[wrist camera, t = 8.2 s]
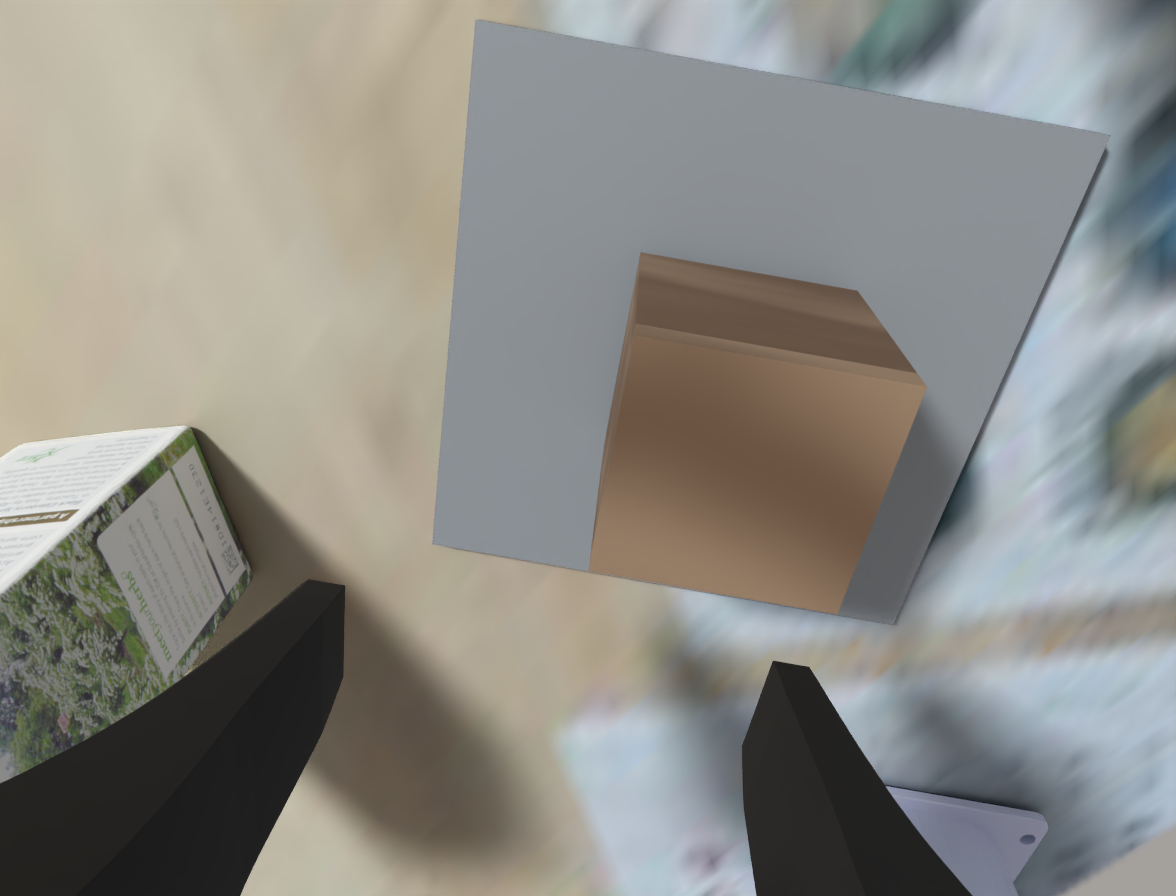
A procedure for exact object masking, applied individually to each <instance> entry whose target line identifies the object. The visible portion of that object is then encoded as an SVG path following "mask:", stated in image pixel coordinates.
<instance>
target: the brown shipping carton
mask: <svg viewBox="0 0 1176 896" xmlns="http://www.w3.org/2000/svg"><path fill="white" fill-rule="evenodd" d="M926 388H927V386H926V385H925V383H924V382H923V380H922V379H921V378H920V376H919V375H918V374H917V372H916V371H915V369H914V368H913V367H912V365H911V364H910V362H909V361H908V360H907V358H906V357H905V356H904V354H903V353H902V351H901V350H900V349H899V347H898V346H897V344H896V343H895V342H894V340H893V339H892V338H891V336H890V335H889V333H888V332H887V331H886V329H885V328H884V327H883V325H882V324H881V322H880V321H879V320H878V318H877V317H876V315H875V314H874V313H873V311H872V310H871V309H870V307H869V306H868V304H867V303H866V302H865V300H864V299H863V297H862V296H861V295H860V293H859V292H858V291H857V290H851V289H846V288H840V287H834V286H829V285H823V284H817V283H812V282H806V281H801V280H795V279H789V278H784V277H778V276H772V275H767V274H761V273H755V272H750V271H744V270H738V269H733V268H727V267H722V266H716V265H710V264H705V263H699V262H693V261H688V260H682V259H676V258H671V257H665V256H660V255H654V254H648V253H643V252H641V253H640V258H639V263H638V268H637V274H636V279H635V284H634V289H633V295H632V300H631V305H630V310H629V316H628V321H627V326H626V331H625V337H624V342H623V347H622V352H621V358H620V363H619V368H618V373H617V379H616V384H615V389H614V394H613V400H612V405H611V410H610V415H609V421H608V426H607V431H606V436H605V442H604V449H603V457H602V465H601V473H600V481H599V489H598V497H597V506H596V514H595V522H594V530H593V538H592V546H591V554H590V562H589V571H591V572H596V573H602V574H608V575H614V576H619V577H625V578H631V579H637V580H642V581H648V582H654V583H660V584H665V585H671V586H677V587H683V588H688V589H694V590H700V591H706V592H711V593H717V594H723V595H729V596H734V597H740V598H746V599H752V600H757V601H763V602H769V603H775V604H780V605H786V606H792V607H798V608H803V609H809V610H815V611H821V612H826V613H832V614H838V611H839V609H840V606H841V604H842V601H843V599H844V596H845V594H846V591H847V588H848V586H849V583H850V581H851V578H852V576H853V573H854V571H855V568H856V566H857V563H858V561H859V558H860V556H861V553H862V550H863V548H864V545H865V543H866V540H867V538H868V535H869V533H870V530H871V528H872V525H873V523H874V520H875V518H876V515H877V512H878V510H879V507H880V505H881V502H882V500H883V497H884V495H885V492H886V490H887V487H888V485H889V482H890V480H891V477H892V474H893V472H894V469H895V467H896V464H897V462H898V459H899V457H900V454H901V452H902V449H903V447H904V444H905V442H906V439H907V436H908V434H909V431H910V429H911V426H912V424H913V421H914V419H915V416H916V414H917V411H918V409H919V406H920V404H921V401H922V398H923V396H924V393H925V391H926Z"/></svg>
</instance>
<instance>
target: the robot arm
mask: <svg viewBox="0 0 1176 896" xmlns="http://www.w3.org/2000/svg"><path fill="white" fill-rule="evenodd" d="M344 609H345V586H344V585H338V584H332V583H327V582H321V581H315V580H307V581H305V582H304V583H302V584H301V585H300V586H299V587H297V588H296V589H295V590H294V591H293V592H291V593H290V594H289V595H288V596H287V597H286V598H284V599H283V600H282V601H281V602H280V603H278V604H277V605H276V606H275V607H274V608H272V609H271V610H270V611H269V612H268V613H266V614H265V615H264V616H263V617H262V618H260V619H259V620H258V621H257V622H255V623H254V624H253V625H252V626H251V627H249V628H248V629H247V630H246V631H244V632H243V633H242V634H241V635H239V636H238V637H237V638H235V639H234V640H233V641H232V642H230V643H229V644H228V645H226V646H225V647H224V648H223V649H221V650H220V651H219V652H217V653H216V654H215V655H214V656H212V657H211V658H210V659H208V660H207V661H206V662H204V663H203V664H202V665H200V666H199V667H197V668H196V669H194V670H193V671H192V672H190V673H189V674H187V675H186V676H185V677H183V678H182V679H180V680H179V681H177V682H176V683H175V684H173V685H172V686H170V687H169V688H168V689H166V690H165V691H163V692H162V693H160V694H159V695H157V696H156V697H154V698H153V699H151V700H150V701H148V702H147V703H145V704H144V705H142V706H141V707H139V708H138V709H136V710H134V711H133V712H131V713H130V714H128V715H126V716H125V717H123V718H121V719H120V720H118V721H116V722H115V723H113V724H111V725H110V726H108V727H107V728H105V729H103V730H102V731H100V732H98V733H96V734H95V735H93V736H91V737H89V738H88V739H86V740H84V741H82V742H80V743H78V744H77V745H75V746H73V747H71V748H69V749H67V750H65V751H63V752H61V753H60V754H58V755H56V756H54V757H52V758H50V759H48V760H46V761H44V762H42V763H40V764H38V765H36V766H35V767H33V768H31V769H29V770H27V771H25V772H23V773H21V774H19V775H17V776H15V777H13V778H11V779H8V780H6V781H4V782H2V783H0V896H240V895H241V893H242V890H243V888H244V885H245V883H246V881H247V879H248V877H249V875H250V873H251V870H252V868H253V866H254V864H255V862H256V860H257V858H258V856H259V854H260V852H261V850H262V848H263V846H264V844H265V842H266V840H267V838H268V837H269V835H270V833H271V831H272V829H273V827H274V825H275V823H276V821H277V819H278V817H279V815H280V814H281V812H282V810H283V808H284V806H285V804H286V802H287V800H288V798H289V796H290V794H291V792H292V791H293V789H294V787H295V785H296V783H297V781H298V779H299V777H300V775H301V773H302V771H303V769H304V767H305V765H306V763H307V762H308V760H309V758H310V756H311V754H312V752H313V750H314V748H315V746H316V744H317V742H318V740H319V738H320V736H321V734H322V732H323V729H324V727H325V724H326V721H327V719H328V716H329V714H330V711H331V709H332V706H333V703H334V700H335V698H336V695H337V692H338V689H339V687H340V684H341V681H342V679H343V662H344ZM742 768H743V801H744V812H745V820H746V827H747V834H748V841H749V848H750V855H751V861H752V868H753V875H754V881H755V888H756V895H757V896H1018V893H1017V891H1016V889H1015V886H1014V884H1013V882H1014V881H1015V879H1016V878H1017V876H1018V875H1019V873H1020V872H1021V870H1022V869H1023V867H1024V866H1025V864H1026V863H1027V861H1028V860H1029V858H1030V857H1031V855H1032V854H1033V852H1034V851H1035V849H1036V848H1037V846H1038V845H1039V843H1040V842H1041V840H1042V839H1043V837H1044V836H1045V834H1046V833H1047V831H1048V828H1049V827H1048V824H1047V822H1046V820H1045V818H1044V816H1043V815H1041V814H1040V813H1037V812H1032V811H1027V810H1021V809H1015V808H1009V807H1004V806H998V805H992V804H986V803H981V802H975V801H969V800H963V799H958V798H952V797H946V796H940V795H935V794H929V793H923V792H917V791H912V790H906V789H900V788H894V787H889V786H885V785H884V783H883V782H882V780H881V779H880V777H879V776H878V775H877V773H876V772H875V770H874V769H873V767H872V766H871V764H870V763H869V761H868V760H867V758H866V757H865V755H864V754H863V752H862V751H861V749H860V748H859V746H858V744H857V743H856V741H855V740H854V738H853V737H852V735H851V734H850V732H849V730H848V729H847V727H846V726H845V724H844V722H843V721H842V719H841V718H840V716H839V714H838V713H837V711H836V709H835V708H834V706H833V705H832V703H831V701H830V700H829V698H828V696H827V695H826V693H825V691H824V690H823V688H822V687H821V685H820V683H819V682H818V680H817V678H816V677H815V675H814V674H813V672H812V671H811V669H810V668H809V667H806V666H800V665H794V664H789V663H783V662H777V661H773V662H772V665H771V668H770V670H769V673H768V676H767V679H766V681H765V684H764V687H763V690H762V693H761V695H760V698H759V701H758V704H757V706H756V709H755V712H754V715H753V717H752V720H751V723H750V726H749V728H748V731H747V734H746V737H745V740H744V742H743V745H742Z"/></svg>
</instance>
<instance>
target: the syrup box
mask: <svg viewBox="0 0 1176 896" xmlns="http://www.w3.org/2000/svg"><path fill="white" fill-rule="evenodd" d="M252 578H253V573H252V571H251V568H250V566H249V564H248V561H247V558H246V556H245V553H244V551H243V549H242V547H241V545H240V543H239V541H238V538H237V535H236V533H235V531H234V528H233V526H232V524H231V521H230V519H229V516H228V514H227V512H226V510H225V507H224V505H223V502H222V500H221V497H220V495H219V493H218V491H217V488H216V486H215V484H214V481H213V479H212V476H211V474H210V471H209V469H208V466H207V464H206V462H205V459H204V457H203V455H202V452H201V449H200V446H199V445H198V443H197V440H196V438H195V436H194V434H193V432H192V429H191V428H190V427H189V426H187V425H185V426H173V427H161V428H151V429H140V430H130V431H122V432H113V433H105V434H96V435H88V436H79V437H71V438H63V439H52V440H45V441H37V442H28V443H25V444H21V445H19V446H17V447H16V448H14V449H13V450H11V451H10V452H8V453H7V454H5V455H4V456H2V457H1V458H0V783H2V782H4V781H6V780H8V779H11V778H13V777H15V776H17V775H19V774H21V773H23V772H25V771H27V770H29V769H31V768H33V767H35V766H36V765H38V764H40V763H42V762H44V761H46V760H48V759H50V758H52V757H54V756H56V755H58V754H60V753H61V752H63V751H65V750H67V749H69V748H71V747H73V746H75V745H77V744H78V743H80V742H82V741H84V740H86V739H88V738H89V737H91V736H93V735H95V734H96V733H98V732H100V731H102V730H103V729H105V728H107V727H108V726H110V725H111V724H113V723H115V722H116V721H118V720H120V719H121V718H123V717H125V716H126V715H128V714H130V713H131V712H133V711H134V710H136V709H138V708H139V707H141V706H142V705H144V704H145V703H147V702H148V701H150V700H151V699H153V698H154V697H156V696H157V695H159V694H160V693H162V692H163V691H165V690H166V689H168V688H169V687H170V686H172V685H173V684H175V683H176V682H177V681H179V680H180V679H182V678H183V677H184V676H185V674H186V673H187V671H188V670H189V669H190V667H191V666H192V664H193V663H194V661H195V660H196V659H197V657H198V656H199V654H200V653H201V652H202V650H203V649H204V647H205V646H206V645H207V643H208V641H209V640H210V638H211V637H212V636H213V634H214V633H215V632H216V630H217V629H218V627H219V626H220V624H221V623H222V621H223V619H224V618H225V616H226V615H227V614H228V613H229V611H230V610H231V608H232V607H233V606H234V605H235V603H236V602H237V600H238V599H239V598H240V596H241V595H242V593H243V591H244V590H245V588H246V587H247V586H248V584H249V583H250V581H251V580H252Z"/></svg>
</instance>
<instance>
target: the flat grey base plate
mask: <svg viewBox="0 0 1176 896" xmlns="http://www.w3.org/2000/svg"><path fill="white" fill-rule="evenodd" d="M1109 138H1110V136H1109V135H1106V134H1102V133H1098V132H1092V131H1087V130H1081V129H1076V128H1070V127H1065V126H1059V125H1054V124H1048V123H1043V122H1037V121H1032V120H1027V119H1021V118H1016V117H1010V116H1005V115H999V114H994V113H988V112H983V111H977V110H972V109H966V108H961V107H955V106H950V105H944V104H939V103H933V102H928V101H922V100H917V99H911V98H906V97H901V96H895V95H890V94H884V93H879V92H873V91H868V90H862V89H857V88H851V87H846V86H840V85H835V84H829V83H824V82H818V81H813V80H807V79H802V78H796V77H791V76H785V75H780V74H774V73H769V72H764V71H758V70H753V69H747V68H742V67H736V66H731V65H725V64H720V63H714V62H709V61H703V60H698V59H692V58H687V57H681V56H676V55H670V54H665V53H659V52H654V51H648V50H643V49H638V48H632V47H627V46H621V45H616V44H610V43H605V42H599V41H594V40H588V39H583V38H577V37H572V36H566V35H561V34H555V33H550V32H544V31H539V30H533V29H528V28H522V27H517V26H512V25H506V24H501V23H495V22H490V21H484V20H475V31H474V43H473V55H472V67H471V80H470V92H469V104H468V116H467V128H466V140H465V153H464V165H463V177H462V189H461V201H460V214H459V226H458V238H457V250H456V262H455V274H454V287H453V299H452V311H451V323H450V335H449V347H448V360H447V372H446V384H445V396H444V408H443V420H442V433H441V445H440V457H439V469H438V481H437V493H436V506H435V518H434V530H433V542H432V544H434V545H440V546H445V547H451V548H457V549H463V550H468V551H474V552H480V553H485V554H491V555H497V556H502V557H508V558H514V559H519V560H525V561H531V562H536V563H542V564H548V565H553V566H559V567H565V568H570V569H576V570H582V571H588V572H591V571H589V562H590V554H591V546H592V538H593V530H594V522H595V514H596V506H597V497H598V489H599V481H600V473H601V465H602V457H603V449H604V442H605V436H606V431H607V426H608V421H609V415H610V410H611V405H612V400H613V394H614V389H615V384H616V379H617V373H618V368H619V363H620V358H621V352H622V347H623V342H624V337H625V331H626V326H627V321H628V316H629V310H630V305H631V300H632V295H633V289H634V284H635V279H636V274H637V268H638V263H639V258H640V253H641V252H643V253H648V254H654V255H660V256H665V257H671V258H676V259H682V260H688V261H693V262H699V263H705V264H710V265H716V266H722V267H727V268H733V269H738V270H744V271H750V272H755V273H761V274H767V275H772V276H778V277H784V278H789V279H795V280H801V281H806V282H812V283H817V284H823V285H829V286H834V287H840V288H846V289H851V290H857V291H858V292H859V293H860V295H861V296H862V297H863V299H864V300H865V302H866V303H867V304H868V306H869V307H870V309H871V310H872V311H873V313H874V314H875V315H876V317H877V318H878V320H879V321H880V322H881V324H882V325H883V327H884V328H885V329H886V331H887V332H888V333H889V335H890V336H891V338H892V339H893V340H894V342H895V343H896V344H897V346H898V347H899V349H900V350H901V351H902V353H903V354H904V356H905V357H906V358H907V360H908V361H909V362H910V364H911V365H912V367H913V368H914V369H915V371H916V372H917V374H918V375H919V376H920V378H921V379H922V380H923V382H924V383H925V385H926V386H927V388H926V391H925V393H924V396H923V398H922V401H921V404H920V406H919V409H918V411H917V414H916V416H915V419H914V421H913V424H912V426H911V429H910V431H909V434H908V436H907V439H906V442H905V444H904V447H903V449H902V452H901V454H900V457H899V459H898V462H897V464H896V467H895V469H894V472H893V474H892V477H891V480H890V482H889V485H888V487H887V490H886V492H885V495H884V497H883V500H882V502H881V505H880V507H879V510H878V512H877V515H876V518H875V520H874V523H873V525H872V528H871V530H870V533H869V535H868V538H867V540H866V543H865V545H864V548H863V550H862V553H861V556H860V558H859V561H858V563H857V566H856V568H855V571H854V573H853V576H852V578H851V581H850V583H849V586H848V588H847V591H846V594H845V596H844V599H843V601H842V604H841V606H840V609H839V611H838V614H832V613H826V612H821V611H815V610H809V609H803V608H798V607H792V606H786V605H781V606H786V607H792V608H798V609H803V610H809V611H815V612H820V613H826V614H832V615H838V616H843V617H849V618H855V619H860V620H866V621H872V622H877V623H883V624H889V625H893V624H894V621H895V619H896V617H897V615H898V612H899V610H900V608H901V606H902V603H903V601H904V599H905V597H906V594H907V592H908V590H909V588H910V586H911V583H912V581H913V579H914V577H915V574H916V572H917V570H918V568H919V565H920V563H921V561H922V559H923V556H924V554H925V552H926V550H927V547H928V545H929V543H930V541H931V538H932V536H933V534H934V532H935V529H936V527H937V525H938V523H939V520H940V518H941V516H942V514H943V511H944V509H945V507H946V505H947V502H948V500H949V498H950V496H951V493H952V491H953V489H954V487H955V484H956V482H957V480H958V478H959V475H960V473H961V471H962V469H963V466H964V464H965V462H966V460H967V457H968V455H969V453H970V451H971V448H972V446H973V444H974V442H975V439H976V437H977V435H978V433H979V430H980V428H981V426H982V424H983V421H984V419H985V417H986V415H987V412H988V410H989V408H990V406H991V403H992V401H993V399H994V397H995V394H996V392H997V390H998V388H999V385H1000V383H1001V381H1002V379H1003V376H1004V374H1005V372H1006V370H1007V367H1008V365H1009V363H1010V361H1011V358H1012V356H1013V354H1014V352H1015V349H1016V347H1017V345H1018V343H1019V340H1020V338H1021V336H1022V334H1023V331H1024V329H1025V327H1026V325H1027V322H1028V320H1029V318H1030V316H1031V314H1032V311H1033V309H1034V307H1035V305H1036V302H1037V300H1038V298H1039V296H1040V293H1041V291H1042V289H1043V287H1044V284H1045V282H1046V280H1047V278H1048V275H1049V273H1050V271H1051V269H1052V266H1053V264H1054V262H1055V260H1056V257H1057V255H1058V253H1059V251H1060V248H1061V246H1062V244H1063V242H1064V239H1065V237H1066V235H1067V233H1068V230H1069V228H1070V226H1071V224H1072V221H1073V219H1074V217H1075V215H1076V212H1077V210H1078V208H1079V206H1080V203H1081V201H1082V199H1083V197H1084V194H1085V192H1086V190H1087V188H1088V185H1089V183H1090V181H1091V179H1092V176H1093V174H1094V172H1095V170H1096V167H1097V165H1098V163H1099V161H1100V158H1101V156H1102V154H1103V152H1104V149H1105V147H1106V145H1107V143H1108V140H1109ZM593 573H596V572H593ZM599 574H602V573H599ZM605 575H608V574H605ZM610 576H614V575H610ZM616 577H619V576H616ZM622 578H625V577H622ZM627 579H631V578H627ZM633 580H637V579H633ZM639 581H642V580H639ZM644 582H648V581H644ZM650 583H654V582H650ZM656 584H660V583H656ZM661 585H665V584H661ZM667 586H671V585H667ZM673 587H677V586H673ZM678 588H683V587H678ZM684 589H688V588H684ZM690 590H694V589H690ZM695 591H700V590H695ZM701 592H706V591H701ZM707 593H711V592H707ZM713 594H717V593H713ZM718 595H723V594H718ZM724 596H729V595H724ZM730 597H734V596H730ZM735 598H740V597H735ZM741 599H746V598H741ZM747 600H752V599H747ZM752 601H757V600H752ZM758 602H763V601H758ZM764 603H769V602H764ZM769 604H775V603H769ZM775 605H780V604H775Z"/></svg>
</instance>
